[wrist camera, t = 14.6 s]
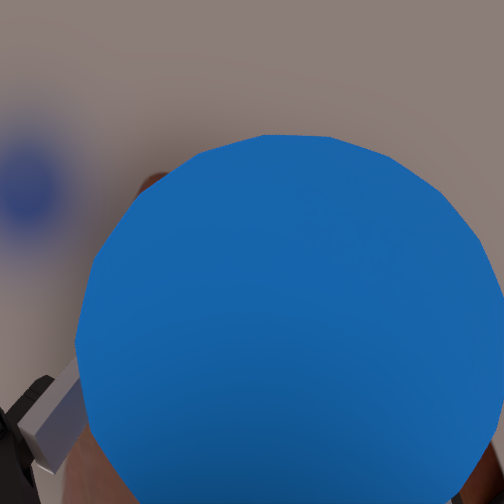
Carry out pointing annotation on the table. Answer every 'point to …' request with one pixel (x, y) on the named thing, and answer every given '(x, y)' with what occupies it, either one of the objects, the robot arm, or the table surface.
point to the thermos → (292, 332)
